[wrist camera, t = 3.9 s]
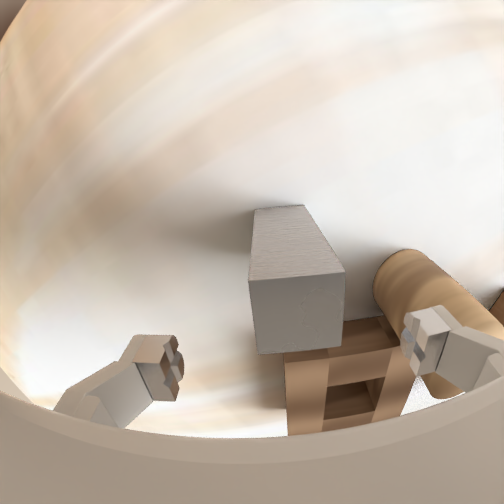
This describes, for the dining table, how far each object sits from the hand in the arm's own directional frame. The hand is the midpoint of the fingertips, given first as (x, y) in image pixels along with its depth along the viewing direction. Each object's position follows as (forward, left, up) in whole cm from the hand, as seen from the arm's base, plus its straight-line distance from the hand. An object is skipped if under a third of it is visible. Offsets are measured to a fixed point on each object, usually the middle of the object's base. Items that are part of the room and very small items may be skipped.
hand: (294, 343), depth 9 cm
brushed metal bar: (-1, 0, -11) cm, 11 cm away
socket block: (+13, +5, -11) cm, 18 cm away
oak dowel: (+4, +10, -11) cm, 15 cm away
